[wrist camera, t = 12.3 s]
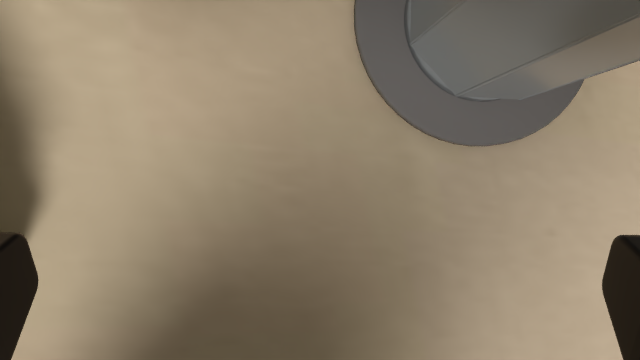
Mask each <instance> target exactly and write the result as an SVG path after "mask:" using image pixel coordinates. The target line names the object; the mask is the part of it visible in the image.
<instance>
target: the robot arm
mask: <svg viewBox="0 0 640 360" xmlns="http://www.w3.org/2000/svg"><path fill="white" fill-rule="evenodd" d="M37 287H38V274H37V271H36V267H35V264H34V261H33V258H32V255H31V251H30V248H29V245H28V242H27V240H26V238H25V237H24V235H22V234H20V233H3V232H0V360H11V358H12V356H13V353H14V350H15V348H16V345H17V342H18V340H19V337H20V334H21V332H22V329H23V326H24V324H25V321H26V318H27V316H28V313H29V310H30V307H31V305H32V302H33V299H34V297H35V294H36V291H37ZM602 290H603V295H604V298H605V302H606V305H607V308H608V312H609V315H610V318H611V321H612V325H613V328H614V331H615V334H616V338H617V341H618V344H619V347H620V351H621V354H622V357H623V360H640V235H619V236H617V237H616V238H615V239H614V240H613V242H612V245H611V249H610V253H609V256H608V260H607V264H606V268H605V272H604V275H603V280H602Z"/></svg>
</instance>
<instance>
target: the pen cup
mask: <svg viewBox="0 0 640 360" xmlns="http://www.w3.org/2000/svg"><path fill="white" fill-rule="evenodd" d="M404 29H405V35H406V39H407V43H408V46H409V49H410V51H411V54H412V56H413V58H414V60H415V61H416V63H417V65H418V66H419V68H420V69H421V70H422V72H423V73H424V74H425V75H426V76H427V77H428V78H429V79H430V80H431V81H432V82H433V83H434V84H435V85H437V86H438V87H439V88H441V89H442V90H444V91H446V92H447V93H449V94H451V95H454V96H456V97H458V98H462V99H465V100H470V101H478V102H488V101H495V100H500V99H517V100H522V99H525V98H528V97H531V96H534V95H537V94H540V93H543V92H546V91H549V90H552V89H555V88H558V87H562V86H565V85H568V84H571V83H574V82H577V81H580V80H583V79H586V78H589V77H592V76H595V75H598V74H601V73H604V72H607V71H610V70H613V69H616V68H619V67H622V66H625V65H628V64H631V63H634V62H637V61H640V0H406V4H405V11H404Z"/></svg>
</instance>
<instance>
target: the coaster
mask: <svg viewBox="0 0 640 360" xmlns="http://www.w3.org/2000/svg"><path fill="white" fill-rule="evenodd" d="M405 4H406V0H355V5H354V28H355V35H356V42H357V46H358V50H359V53H360V57H361V60H362V62H363V65H364V67H365V70H366V72H367V74H368V76H369V78H370V80H371V81H372V83H373V85H374V87H375V88H376V90H377V91H378V93H379V94H380V95H381V97H382V98H383V99H384V101H385V102H386V103H387V104H388V105H389V106H390V107H391V108H392V109H393V110H394V111H395V112H396V113H397V114H398V115H399V116H400V117H401V118H403V119H404V120H405V121H406V122H408V123H409V124H410V125H412V126H413V127H415V128H417V129H418V130H420V131H422V132H423V133H425V134H428V135H430V136H432V137H435V138H437V139H439V140H443V141H446V142H450V143H453V144H459V145H466V146H490V145H497V144H503V143H508V142H511V141H515V140H518V139H521V138H524V137H526V136H528V135H530V134H533V133H535V132H537V131H538V130H540V129H541V128H543V127H544V126H546V125H548V124H549V123H550V122H551V121H553V120H554V119H555V118H556V117H557V116H558V115H560V114H561V112H562V111H563V110H564V109H565V108H566V107H567V106H568V105H569V104H570V102H571V101H572V99H573V98H574V97H575V95H576V94H577V92H578V91H579V89H580V87H581V85H582V83H583V81H584V79H583V80H580V81H577V82H574V83H571V84H568V85H565V86H562V87H558V88H555V89H552V90H549V91H546V92H543V93H540V94H537V95H534V96H531V97H528V98H525V99H522V100H517V99H500V100H495V101H488V102H478V101H470V100H465V99H462V98H458V97H456V96H454V95H451V94H449V93H447V92H446V91H444V90H442V89H441V88H439V87H438V86H437V85H435V84H434V83H433V82H432V81H431V80H430V79H429V78H428V77H427V76H426V75H425V74H424V73H423V72H422V70H421V69H420V68H419V66H418V65H417V63H416V61H415V60H414V58H413V56H412V54H411V51H410V49H409V46H408V43H407V39H406V35H405V29H404V11H405Z"/></svg>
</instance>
